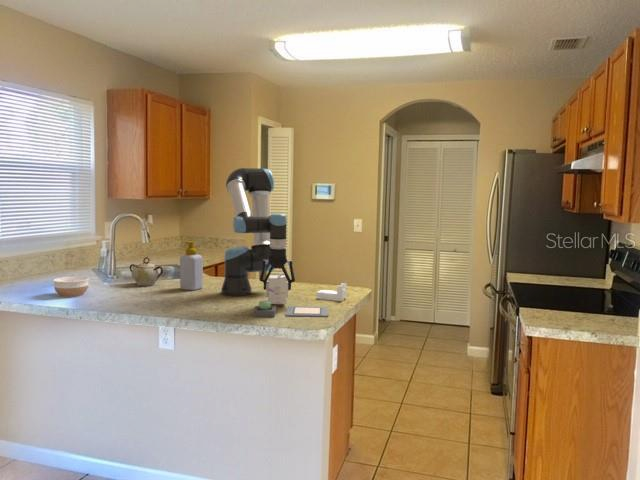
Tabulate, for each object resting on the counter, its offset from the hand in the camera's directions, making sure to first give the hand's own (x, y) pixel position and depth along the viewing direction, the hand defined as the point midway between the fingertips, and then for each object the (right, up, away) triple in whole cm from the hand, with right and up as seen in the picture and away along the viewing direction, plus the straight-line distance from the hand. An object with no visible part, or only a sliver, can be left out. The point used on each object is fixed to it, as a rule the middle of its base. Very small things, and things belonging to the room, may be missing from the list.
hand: (277, 296), depth 244 cm
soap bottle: (-48, 0, +35) cm, 59 cm away
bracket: (+25, -3, +16) cm, 30 cm away
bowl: (-102, -1, +16) cm, 103 cm away
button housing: (-4, -6, -17) cm, 18 cm away
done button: (-4, -3, -17) cm, 18 cm away
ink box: (0, -3, 0) cm, 3 cm away
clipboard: (+14, -5, -12) cm, 19 cm away
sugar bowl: (-75, +2, +45) cm, 87 cm away
